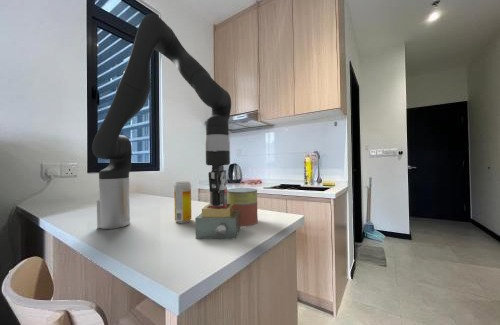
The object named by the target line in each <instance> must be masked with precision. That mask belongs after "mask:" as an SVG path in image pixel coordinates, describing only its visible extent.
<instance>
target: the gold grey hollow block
mask: <svg viewBox="0 0 500 325" xmlns="http://www.w3.org/2000/svg"><path fill="white" fill-rule="evenodd" d="M194 219H195V224H194V225H195V239H220V240H221V239H222V240H223V239H227V240H228V239H229V240H231V239H233V240H236V239H237V238H238V234H239V232H240V231H241V227H240V210H234V203H227V208H210V202H209V203H208V204H207V205H205V206H204V207H203V208H201V213H200V214H198V215H197V216H196V217H195V218H194Z"/></svg>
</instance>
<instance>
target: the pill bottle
mask: <svg viewBox="0 0 500 325" xmlns="http://www.w3.org/2000/svg"><path fill="white" fill-rule="evenodd" d="M218 183H219V182H218ZM224 183H225V179H223V181H222V186H221V187H220V205H219V206H213V204H212V193H211V192H210V191H209V203H210V208H227V190H228V187H227V185H226V186H225V185H224ZM214 188H216V186H214Z"/></svg>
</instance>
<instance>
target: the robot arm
mask: <svg viewBox="0 0 500 325" xmlns="http://www.w3.org/2000/svg"><path fill="white" fill-rule="evenodd" d="M154 51H155V52H158V53H159V54H162V55H163V56H164V57H165V58H167V59H168V60H170V62H171V63H172V64H174V66H175V67H176V69H177V71H178V72H179V74H180V75H181V76H182V78H183V79H184V81H186V83H188V84H189V86H190V87H191V88H192V89H194V91H195V93H196V94H197V96H198V97H199V99H200V100H201V102H203V103H204V105H206V106H207V107H208V108H211V116H209V117H208V118H207V119H206V121H205V165H207V166H211V171H209V172H208V174H207V175H208V185H209V186H208V187H209V193H210V192H211V193H212V204H213V206H219V205H220V187H221V186H222V181H223V179H225V183H224V185H225V186H226V187H227V183H226V182H227V181H226V180H227V171H226V170H227V169H226V170H225V169H224V166H229V165H230V163H231V157H230V156H231V155H230V154H231V151H230V150H231V149H230V147H231V146H230V138H229V135H230V134H229V132H230V131H229V130H230V129H229V120H230V117H231V116H230V115H231V111H232V110H231V109H232V99H231V98H232V97H231V95H230V94H229V93H230V92H228V91H227V90H226V89H224V88H223V87H222V86H221V85H220V84H218V83H217V82H216V81H215V80H214V78H212V76H211V75H210V73H209V72H208V71H207V69H205V68H204V66H203V65H201V63H200V62H199V61H198V60H197V59H195V58H194V57H193V56H192V55H191V54H190V53H189V52H188V51H187V50H186V49H185V47H184V46H183V45H182V43H181V42H180V39H178V36H177V35H176V34H175V32H174V30H173V29H172V28H171V27H170V26H169V25H168V24H167V23H166V22H165V21H164V20H163V19H162V18H161V17H160V16H159V15H157V14H155V13H148V14H146V15H145V16H144V17H143V18H142V19H141V21H140V23H139V25H138V27H137V31H136V34H135V38H134V42H133V45H132V49H131V53H130V56H129V59H128V62H127V65H126V67H125V69H124V72H123V74H122V76H121V79H120V81H119V83H118V86H117V88H116V91H115V94H114V97H113V100H112V102H111V104H110V107H109V108H108V111H107V113H106V115H105V117H104V119H103V121H102V123H101V125H100V126H99V128H98V130H97V132H96V134H95V135H94V138H93V141H92V143H91V144H92V145H91V150H92V154H93V155H94V157H96V158H97V159H100V160H109V164H108V165H107V166H106V167H105V168H103V169H101V170H100V171H99V172H98V188H99V189H98V190H99V191H98V196H99V197H98V198H99V199H98V200H96V221H97V222H96V223H97V224H96V225H97V226H96V227H97V228H98V229H102V230H110V229H111V230H113V229H118V228H123V227H126V226H128V225H130V224H131V215H130V214H131V212H130V210H131V206H130V205H131V204H130V203H131V202H130V172H131V170H132V158H133V152H132V151H133V148H132V142H131V140H130V139H129V137H128V136H126V135H123V134H122V135H121V133H122V131H123V128H124V127H125V125H126V124H127V123H128V122H129V121H130V120H131V119H132V118H133V117H135V116H136V115H137V114H138V113H139V112H140V111H141V110H142V109H143V108H144V106H145V105H146V102H147V99H148V98H149V95H150V92H151V87H152V85H151V84H152V83H151V82H152V81H151V71H150V70H151V69H150V68H151V67H150V64H151V59H152V56H153V53H154ZM218 182H219V183H218ZM214 186H216V188H214Z"/></svg>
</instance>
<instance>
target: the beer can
mask: <svg viewBox="0 0 500 325" xmlns="http://www.w3.org/2000/svg"><path fill="white" fill-rule="evenodd" d="M173 188H174V192H173V193H174V199H173V200H174V221H175V222H176V223H177V224H184V223H189V222H190V221H191V220H192V185H191V182H190V181H188V180H187V181H175V183H174V185H173Z"/></svg>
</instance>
